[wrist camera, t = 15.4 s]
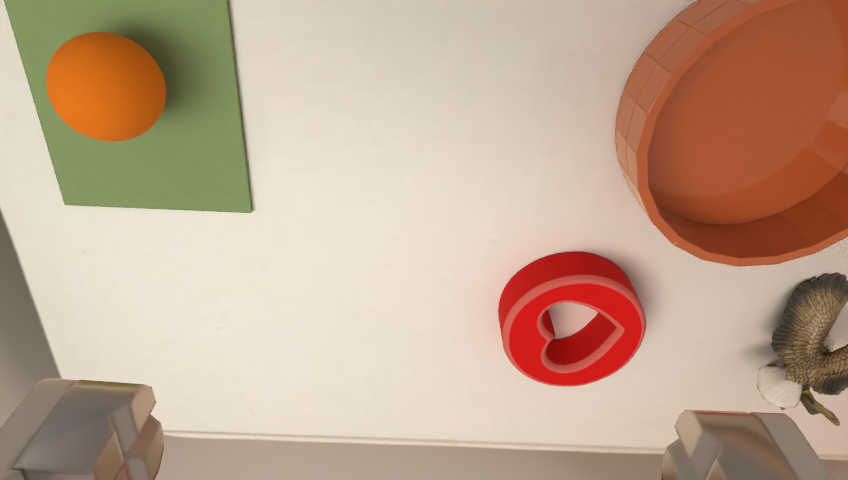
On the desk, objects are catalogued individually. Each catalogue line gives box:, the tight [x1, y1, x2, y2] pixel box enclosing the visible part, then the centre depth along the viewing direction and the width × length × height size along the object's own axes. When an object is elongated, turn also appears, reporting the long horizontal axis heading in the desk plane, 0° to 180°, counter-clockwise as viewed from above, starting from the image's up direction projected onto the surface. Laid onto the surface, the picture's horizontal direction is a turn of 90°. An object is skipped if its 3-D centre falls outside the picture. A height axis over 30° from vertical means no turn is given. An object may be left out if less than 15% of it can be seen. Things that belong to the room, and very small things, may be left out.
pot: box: [615, 0, 848, 266], centre depth 34 cm, size 16×16×4 cm
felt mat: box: [4, 0, 252, 213], centre depth 34 cm, size 18×12×1 cm, turn 177°
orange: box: [46, 32, 166, 142], centre depth 32 cm, size 6×6×6 cm
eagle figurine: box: [757, 273, 848, 426], centre depth 41 cm, size 8×7×9 cm
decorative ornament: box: [499, 252, 646, 386], centre depth 42 cm, size 10×10×3 cm
